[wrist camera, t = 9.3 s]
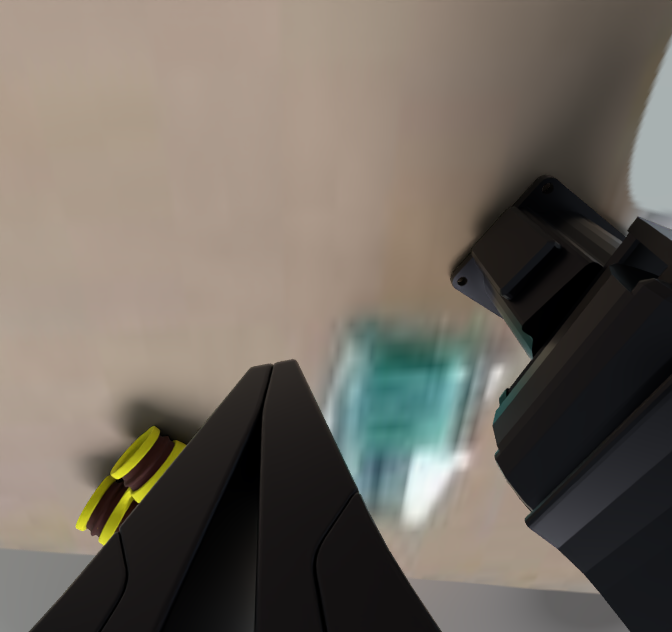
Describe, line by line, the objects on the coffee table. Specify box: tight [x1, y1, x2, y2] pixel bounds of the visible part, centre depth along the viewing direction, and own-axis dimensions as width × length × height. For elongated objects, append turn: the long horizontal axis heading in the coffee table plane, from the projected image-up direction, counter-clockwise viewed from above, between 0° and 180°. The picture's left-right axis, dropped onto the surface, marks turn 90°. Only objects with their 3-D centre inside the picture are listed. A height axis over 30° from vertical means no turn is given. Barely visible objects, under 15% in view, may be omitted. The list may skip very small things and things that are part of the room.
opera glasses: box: [76, 426, 186, 545], centre depth 27 cm, size 10×5×5 cm, turn 142°
